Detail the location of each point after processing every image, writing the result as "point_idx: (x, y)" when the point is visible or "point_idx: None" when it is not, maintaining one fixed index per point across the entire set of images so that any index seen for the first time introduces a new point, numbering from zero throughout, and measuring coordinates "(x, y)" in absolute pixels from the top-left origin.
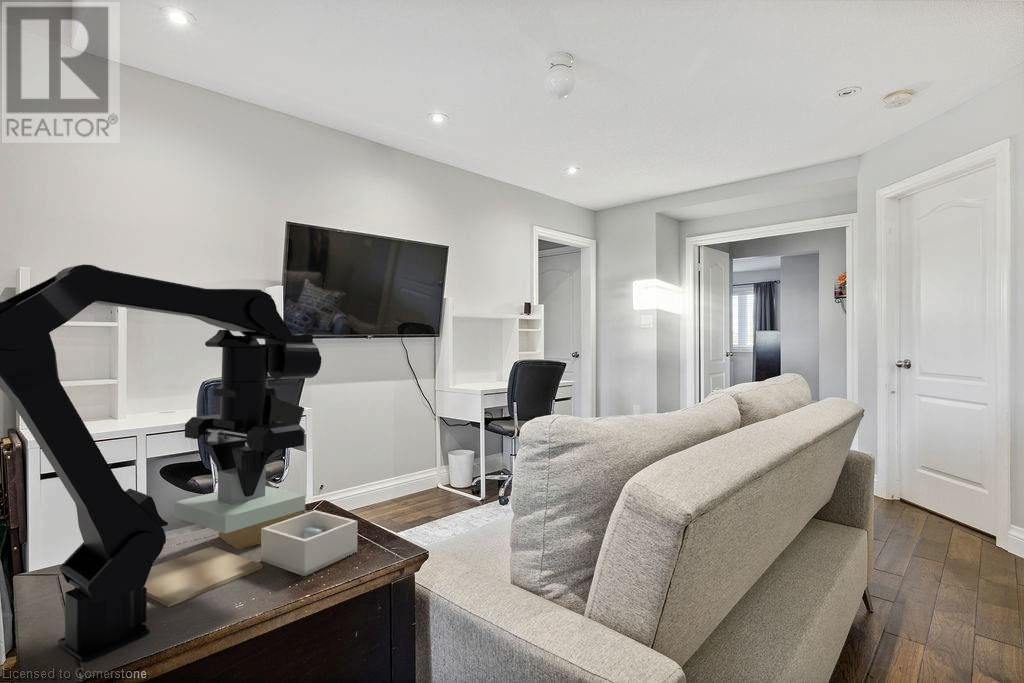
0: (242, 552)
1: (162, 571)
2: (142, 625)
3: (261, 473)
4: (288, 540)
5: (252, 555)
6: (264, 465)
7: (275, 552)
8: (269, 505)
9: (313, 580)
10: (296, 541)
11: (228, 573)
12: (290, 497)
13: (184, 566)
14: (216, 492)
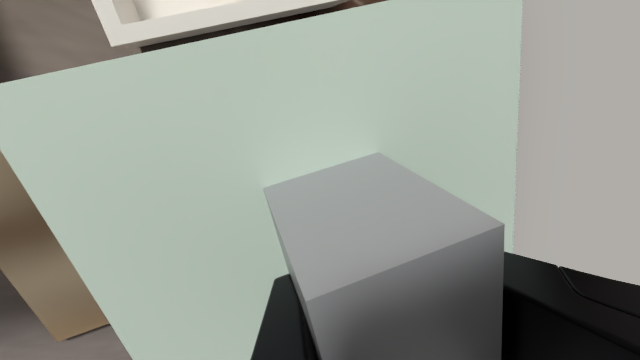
0: (6, 60)
1: (74, 270)
2: None
3: (542, 263)
4: (281, 12)
5: (63, 46)
6: (628, 287)
7: (209, 30)
8: (514, 183)
9: (363, 3)
10: (324, 3)
11: None
12: (498, 62)
13: None
14: (133, 337)
